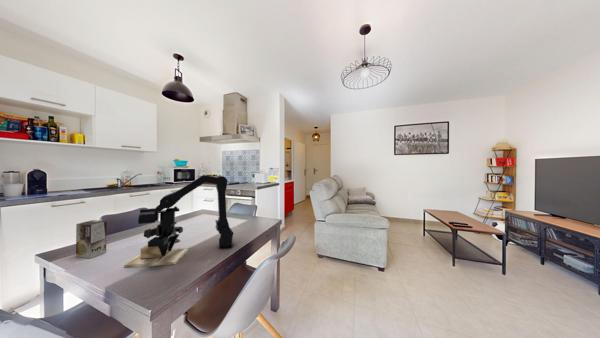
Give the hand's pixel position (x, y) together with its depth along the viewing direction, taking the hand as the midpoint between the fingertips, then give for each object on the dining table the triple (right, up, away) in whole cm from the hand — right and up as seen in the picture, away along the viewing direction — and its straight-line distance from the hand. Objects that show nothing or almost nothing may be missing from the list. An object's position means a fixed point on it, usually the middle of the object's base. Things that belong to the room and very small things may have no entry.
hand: (166, 253), depth 84 cm
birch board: (-3, -2, -1) cm, 4 cm away
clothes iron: (-12, -3, +15) cm, 20 cm away
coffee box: (-39, -2, +2) cm, 39 cm away
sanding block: (-6, -1, -1) cm, 6 cm away
